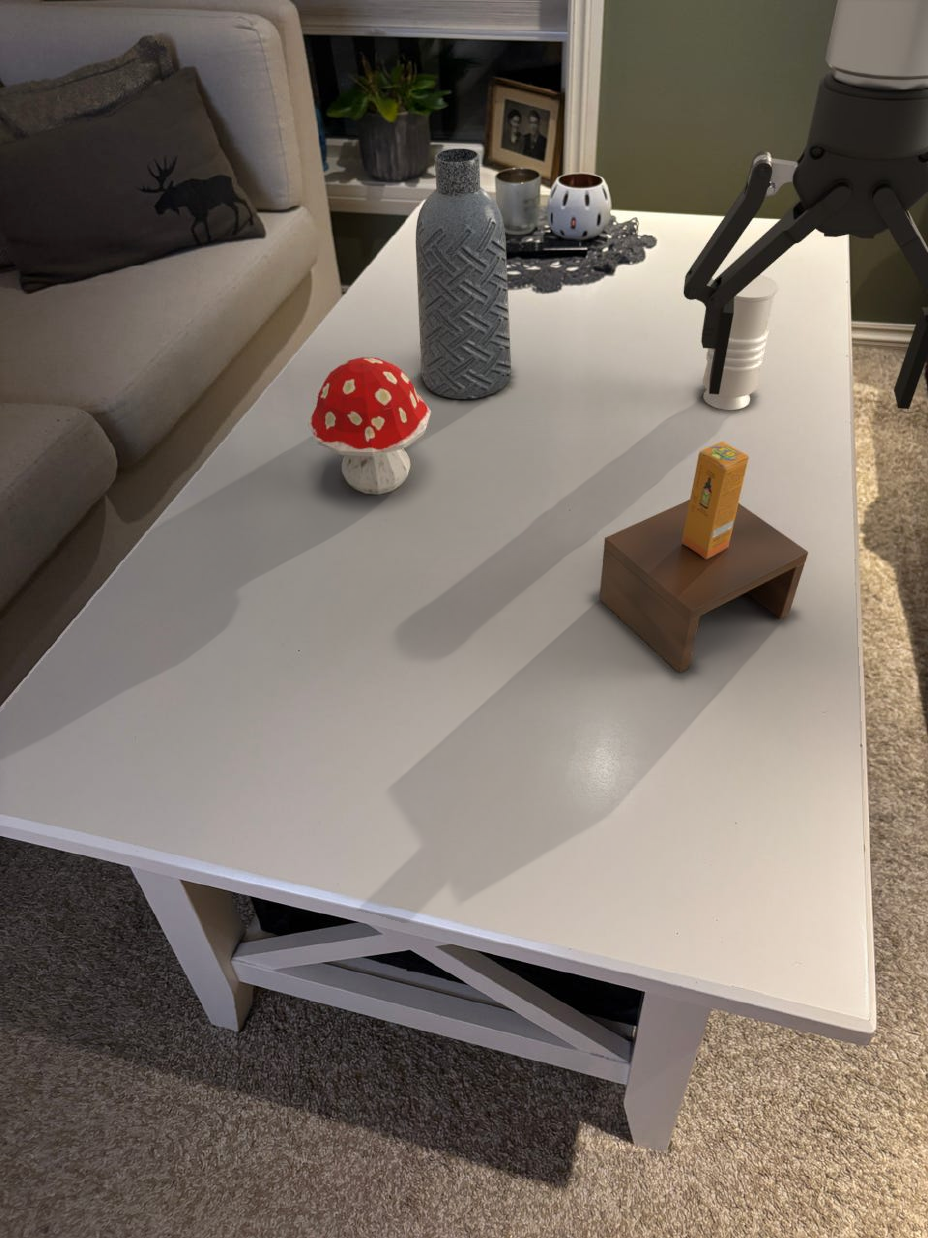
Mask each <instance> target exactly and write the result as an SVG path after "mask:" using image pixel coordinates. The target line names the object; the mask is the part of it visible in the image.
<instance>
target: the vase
mask: <svg viewBox="0 0 928 1238" xmlns="http://www.w3.org/2000/svg"><path fill="white" fill-rule="evenodd" d="M480 170H481V169H480V154H479V152H478V151H476V150H474V149H470V148H461V147H459V148H450V149H444V150H441V151H439V152H437V153H436V154H435V156H434V171H435V173H434V174H435V186H436V187H435V190H433V191H432V192H431V194H430V195H428V197H427V198H426V199H425V200H424V201H423V204H422V205H421V208H420V209H419V212H418V215H417V220H416V225H415V260H416V262H415V263H416V282H417V285H416V286H417V305H418V328H419V329H418V330H419V344H420V345H419V348H420V349H419V350H420V369H421V377H422V380H423V382H424V385H425V386H426V387H427V388H428V389H429V391H431V392H433V393H434V394H436V395H439V396H441V397H445V398H450V399H457V400H458V399H459V400H468V399H469V400H470V399H477V398H482V397H487V396H489V395H492V394H494V393H496V392H498V391H500V390H501V389H503V388H504V387H505V386H506V385H507V384H508V382H509V379H510V377H511V374H512V355H511V333H510V332H511V331H510V310H509V309H510V307H509V285H508V284H509V283H508V263H507V240H506V239H507V238H506V230H505V224H504V219H503V215H502V212H501V210H500V207H499V205H498V203H497V202H496V200H495V198H493V196H491V194H489V193H488V191H486V190H485V189H484V188H483V187H482V186H481V173H480Z"/></svg>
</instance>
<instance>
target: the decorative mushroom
mask: <svg viewBox="0 0 928 1238" xmlns="http://www.w3.org/2000/svg"><path fill="white" fill-rule="evenodd" d="M317 394H318V396H317V401H316V406H315V407H314V410H313V412H312V414H311V416H310V418H309V421H308V422H307V426H308V428H309V430H310V432H311V433H312V436H313V437H314V439H315V441H316V443H317V444H318V446H321V447H323V448H325V449H328V450H330V451H332V452H334V453H336V454H339V455H341V456H343V459H342V463H341V472H342V475H343V477H344V479H345V480H346V482H347V484H348V485H349V486H351V487H352V488H353V489H354V490H356V491H358V492H360V493H363V494H364V495H383V494H387V493H391V492H393V491H394V490H396V489H397V488H398V487H400V486H402V485H403V483H404V482H405V481H406V479H407V477H408V475H409V471H410V469H411V460H410V457H409V455H408V453H407V452H406V450H405V448H407V447H408V446H409V445H411V444H413V443H414V442H415V441H417V440H418V439H419V438H420V437H422V436H424V434H425V432H426V429H427V426H428V424H429V420H430V417H431V414H432V410H431V409H430V407H429V406H428V405H427V403H426V402H425V400H423V398H422V397H421V396H420V395H419V394H418V392H417V390H416V388H415V386H414V384H413V383H412V381H411V379H410V378H409V377H408V376H407V374H406V373H405V371H403V370H402V369H401V368H400V367H398V366H397V365H396V364H393V363H391V362H388V361H386V360H384V359H381V358H378V357H370V356H369V357H368V356H367V357H365V356H362V357H357V358H353V359H349V360H347V361H345V362H344V363H342V364H340V365H339V366H337V367H336V368H334V369H333V370H331V371H330V372H329V374H328V375H327V376H326V378H325V380H324V382H323V384H322V386H321V388H320V390H319V392H318V393H317Z"/></svg>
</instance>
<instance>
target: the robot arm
mask: <svg viewBox="0 0 928 1238" xmlns="http://www.w3.org/2000/svg"><path fill="white" fill-rule="evenodd" d="M834 12H835V13H834V17H833V21H832V25H831V31H830V35H829V38H828V39H829V40H828V44H827V47H826V52H825V53H826V54H825V58H824V60H825V61H826V63H827V65H828V67H829V68H831V69H829V70H828V71H827V72H826V73H825V74H824V75H823V76H822V77H821V78H820V80H819V84H818V89H817V93H816V99H815V103H814V108H813V113H812V117H811V120H810V121H811V122H810V126H809V131H808V135H807V140H806V145H805V148H804V150H803V152H802V154H801V155H800V156H799V158H798V159H797V160H796V161H795V160H794V161H793V160H788V159H780V158H775V157H774V158H773V157H772V154H771V153H770V152H769V151H766V150H761V151H760V150H759V152H757V153H756V154H755V155H754V156H753V158H752V160H751V164H750V167H749V168H750V169H749V171H748V175H747V179H746V182H745V186H744V187H743V188H742V190H741V191H740V193H739V194H738V196H737V198H736V199H735V201H734V202H733V203H732V205H731V207H730V208H729V210H728V211H727V212H726V214H725V215H724V217H723V219H722V220H721V222H720V223H719V225H718V226H717V227H716V229H715V230H714V232H713V233H712V235H711V236H710V238H709V239H708V241H707V242H706V243H705V245H704V247H703V248H702V250H701V251H700V252H699V254H698V256H697V257H696V258H695V260H694V262H693V263H692V265H691V266H690V268H689V269H688V271H687V272H686V273H685V276H684V283H683V296H684V298H686V299H687V300H689V301H694V300H695V301H699V302H701V303H702V304H703V305H704V307H705V311H704V317H703V324H702V329H701V330H702V331H701V337H700V338H701V339H700V341H701V342H700V343H701V345H702V349H708V348H709V349H715V350H714V356H713V361H712V367H711V373H710V384H709V394H719V392H720V386H721V381H722V375H723V370H724V364H725V359H726V353H727V347H728V342H729V336H730V331H731V325H732V320H733V314H734V297H735V296H736V295H737V294H738V293H739V292H741V291H742V290H743V289H744V288H745V287H746V286H747V285H749V284H750V283H751V282H752V281H753V280H754V279H755V278H756V277H758V276H759V275H762V273H763V272H765V271H766V270H767V269H769V267H770V266H771V265H772V264H773V263H775V262H776V261H777V260H779V258H781V256H783V255H784V254H785V253H787V252H788V250H790V249H791V248H793V246H794V245H796V244H800V243H801V242H802V241H804V239H806V238H807V237H808V236H809V235H810V234H812V232H814V231H815V230H816V231H817V232H819V233H821V234H823V237H826V238H838V237H843V236H848V235H850V236H854V237H857V238H860V239H871V240H872V239H874V238H875V236H878V235H880V234H883V233H885V232H886V231H887V230H888V231H889V233H890V234H891V236H892V238H893V239H894V241H895V243H896V245H897V247H898V248H899V249H900V250H901V252H902V254H903V256H904V257H905V259H906V261H907V263H908V265H909V266H910V268H911V270H912V272H913V273H914V276H915V277H916V279H917V280H918V283H919V284H920V286H921V287H922V289H923V291H924V293H925V294H926V296H927V297H928V245H927V244H926V242H925V239H924V238H923V236H922V234H921V233H920V231H919V228H918V227H917V225H916V223H915V222H914V219H913V217H912V216H911V214H910V211H909V210H911V209H912V208H913V207H914V206H915V205H916V204H917V203H918V202H919V201H920V200H922V198H924V196H925V195H927V194H928V0H837V3H836V7H835V11H834ZM789 183H792V186H793V189H794V190H795V193H796V195H797V197H798V200H796V201H795V202H794V203H793V204H792V205H791V206H790V207H789V208H788V209H787V210H786V211H785V213H783V216H782V217H781V218H780V219H778V221H777V222H776V223H774V225H772V226H771V227H770V228H769V229H768V230H767V231H766V232H765V233H764V234H762V235H761V236H760V237H759V238H758V239H757V240H756V241H755V242H754V243H753V244H752V245H751V246H749V248H747V249H746V250H745V251H744V252H743V253H742V254H741V255H740V256H738V257H737V258H736V259H735V260H734V261H733V262H731V264H730V265H729V266H728V267H726V268H725V269H724V270H723V271H722V272H721V273H720V274H719V275H718V276H717V277H716V278H713V277H714V275H715V274H716V273H717V271H718V270H719V268H720V267H721V266H722V265H723V262H724V261H725V260H726V258H727V257H728V256H729V254H730V253H731V251H732V250H733V248H734V247H735V245H737V243H738V241H739V240H740V238H741V237H742V236H743V234H744V232H745V231H746V229H747V228H748V227H749V226H750V224H751V223H752V221H753V219H754V218H755V216H756V215H757V214H758V212H759V210H760V209H761V207H762V205H763V203H764V202H765V198H771V197H773V196H775V195H776V194H777V193H778V192H779V190H780V188H781V187H782V186H783V185H785V184H789ZM926 364H928V307H923V306H922V307H921V308H920V310H919V314H918V317H917V319H916V323H915V325H914V328H913V331H912V335H911V338H910V340H909V343H908V347H907V350H906V352H905V355H904V358H903V361H902V364H901V367H900V370H899V373H898V375H897V378H896V383H895V385H894V387H893V393H894V397H895V402H896V407H897V409H902V410H910V407H911V405H912V402H913V399H914V396H915V393H916V390H917V387H918V385H919V383H920V378H921V377H922V374H923V371H924V369H925V365H926Z"/></svg>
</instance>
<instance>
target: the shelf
mask: <svg viewBox="0 0 928 1238" xmlns="http://www.w3.org/2000/svg"><path fill="white" fill-rule="evenodd" d="M689 503H690V499H688V500H685V501H682V502H681V503H678V504H676V505H674V506H673V507H672V506H671V507H670V508H668V509H665V510H663V511H661V512H658V513H656V514H654V515H652V516H650V517H648V518H646V519H643V520H641V521H639V522H636V523H634V524H632V525H630V526H628V527H625V528H623V529H621V530H619V531H616V532H614V533H612V534H610V535H608V536H606V537H604V543H603V554H602V566H601V576H600V585H599V586H600V587H599V595H598V596H599V597H598V599H599V601H600V602H602V604H604V605H605V606H606V607H607V608H608V609H609V610H610V611H611V612H612V613H614V614H615V615H616V616H617V617H618V618H619V619H620V620H621V621H622V622H623V623H624V624H625V625H626V626H627V627H629V628H630V629H631V630H632V631H633V632H634V633H635V634H636V635H637V636H638V637H639V638H641V639H642V640H643V641H644V642H645V643H646V644H647V645H648V646H649V647H650V648H651V649H653V651H654V652H656V653H657V654H658V656H660V657H661V658H662V659H663V660H664V661H665V662H666V663H667V664H668V665H670V666H671V667H672V668H673V669H674V670H675V671H676V672H677V673H678V674H681V673H682V672H684V671H687V670H688V669H689V668H690V664H691V659H692V655H693V650H694V645H695V640H696V636H697V631H698V627H699V623H700V622H699V621H700V618H701V616H703V615H705V614H707V613H708V612H711V611H712V610H715V609H716V608H718V607H720V606H722V605H724V604H726V603H728V602H730V601H732V600H734V599H736V598H738V597H740V596H742V595H744V594H746V593H747V594H748V595H750V597H752V598H753V599H754V600H756V601H757V602H758V603H759V604H761V605H762V606H763V607H765V608H766V609H767V610H769V611H770V612H771V613H772V614H773V615H775V616H776V617H777V618H779V619H783V618H786V617H787V616H788V615H790V612H791V609H792V606H793V603H794V601H795V596H796V593H797V590H798V586H799V584H800V581H801V577H802V574H803V570H804V567H805V564H806V562H807V559H808V555H809V551H808V550H807V549H805V548H803V547H802V546H801V545H799V544H798V543H796V542H795V541H793V540H792V539H791V538H789V537H788V536H786V535H785V534H784V533H782V532H781V531H779V530H778V529H776V528H775V527H774V526H772V525H771V524H769V523H768V522H766V521H765V520H764V519H763V518H761V517H760V516H759V515H757V514H755V513H754V512H752V511H751V510H749V509H748V508H747V507H745V506H744V505H742V504H741V503H740V502H738V507H737V512H736V516H735V520H734V524H733V529H732V533H731V537H730V542H729V546H728V548H726V549H724V550H723V551H721V552H719V553H717V554H716V555H714V556H712V557H710V558H708V559H704V558H703V557H702V556H701V555H699V554H698V553H696V552H695V551H693V550H692V549H690V548H689V547H687V546H685V545H684V544H683V543H682V537H683V533H684V528H685V523H686V518H687V513H688V508H689Z"/></svg>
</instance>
